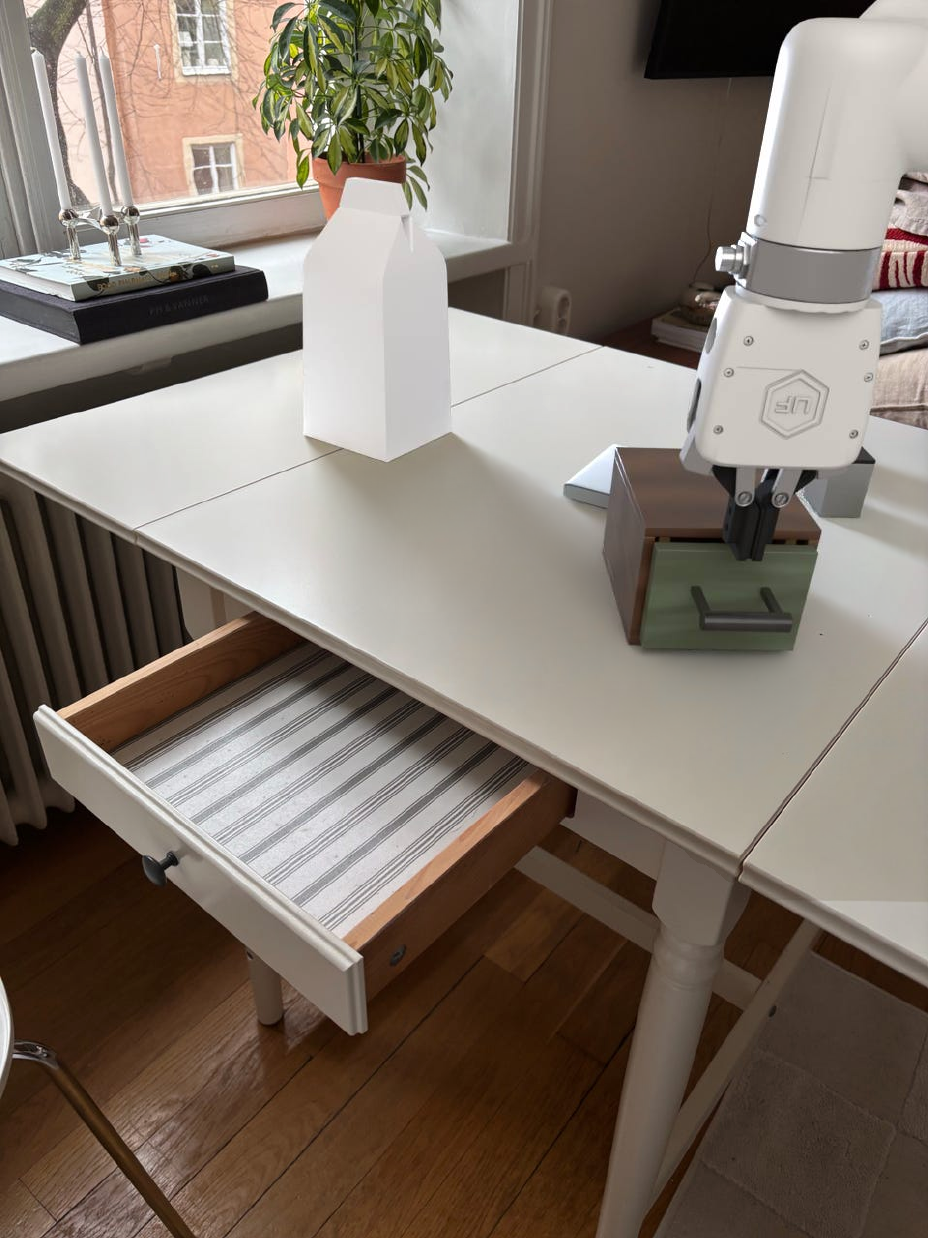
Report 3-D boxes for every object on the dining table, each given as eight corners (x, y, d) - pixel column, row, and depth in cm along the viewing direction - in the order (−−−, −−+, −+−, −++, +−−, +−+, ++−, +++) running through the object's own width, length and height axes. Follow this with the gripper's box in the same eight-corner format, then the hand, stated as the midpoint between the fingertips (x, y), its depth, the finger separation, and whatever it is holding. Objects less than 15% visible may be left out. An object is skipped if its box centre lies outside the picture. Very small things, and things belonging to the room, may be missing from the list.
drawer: (814, 690, 67) (843, 588, 63) (653, 687, 67) (670, 585, 62) (745, 562, 83) (764, 473, 78) (614, 559, 82) (626, 470, 78)
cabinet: (791, 648, 73) (822, 530, 68) (628, 645, 73) (645, 526, 67) (742, 555, 86) (764, 450, 80) (602, 553, 85) (615, 446, 80)
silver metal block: (841, 495, 97) (856, 439, 94) (859, 517, 93) (876, 460, 90) (803, 494, 97) (816, 439, 94) (819, 517, 93) (833, 459, 89)
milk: (303, 434, 106) (287, 179, 92) (371, 407, 114) (365, 168, 100) (386, 462, 100) (383, 195, 86) (451, 431, 108) (458, 181, 94)
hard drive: (642, 502, 91) (685, 458, 100) (563, 482, 94) (611, 441, 103) (640, 518, 91) (682, 473, 101) (562, 497, 95) (610, 455, 104)
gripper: (691, 281, 52) (643, 576, 61) (962, 292, 52) (872, 582, 62) (664, 252, 58) (625, 523, 68) (906, 261, 58) (833, 529, 68)
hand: (743, 551), depth 65 cm, fingers closed
